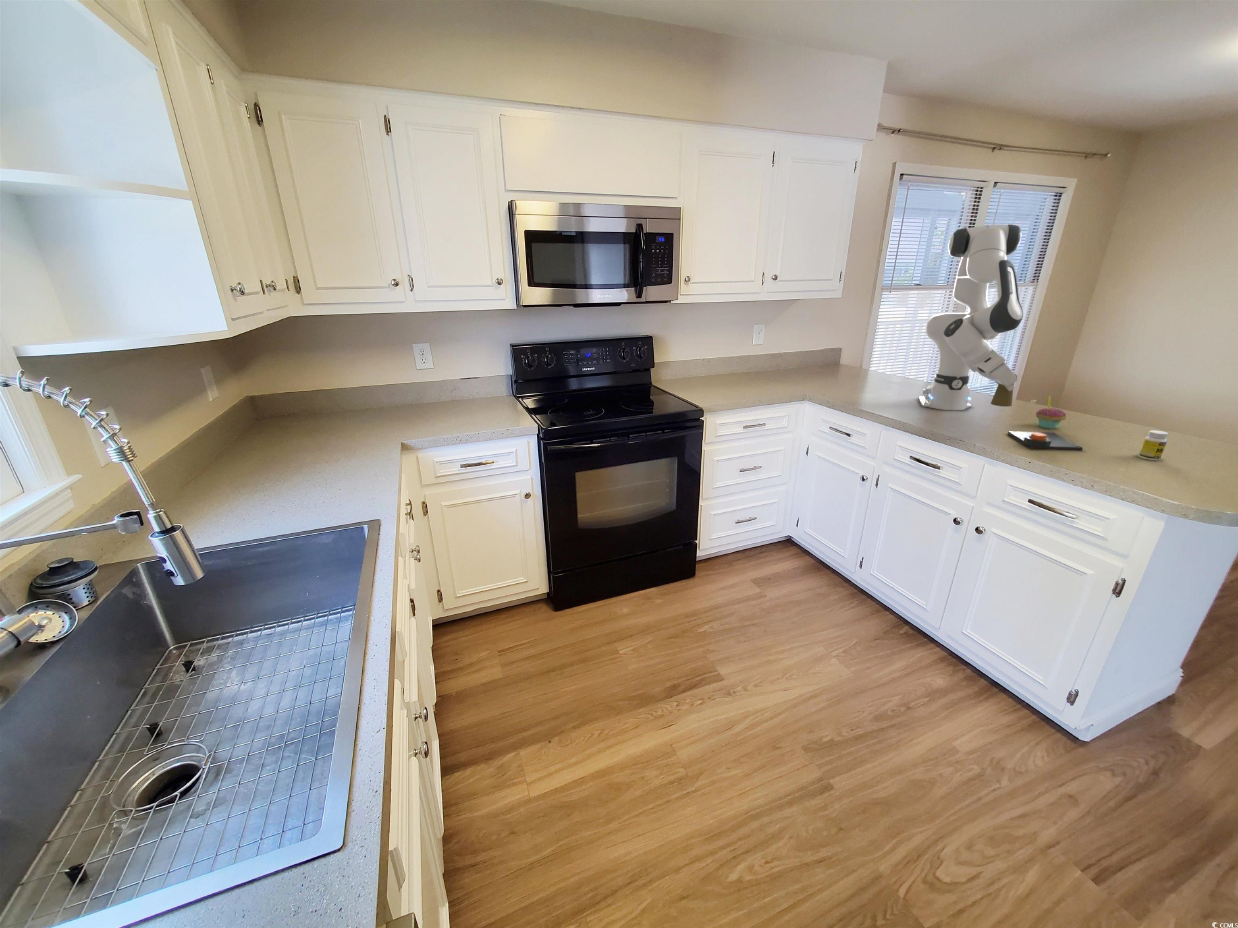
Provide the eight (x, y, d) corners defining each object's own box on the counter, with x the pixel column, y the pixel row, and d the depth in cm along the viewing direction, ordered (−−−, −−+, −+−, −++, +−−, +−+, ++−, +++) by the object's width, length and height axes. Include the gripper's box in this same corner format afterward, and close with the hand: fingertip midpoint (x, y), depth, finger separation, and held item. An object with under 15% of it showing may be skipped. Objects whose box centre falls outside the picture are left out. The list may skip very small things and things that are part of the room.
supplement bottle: (1155, 461, 149) (1165, 435, 146) (1134, 457, 153) (1144, 431, 150) (1163, 459, 151) (1173, 432, 148) (1143, 454, 155) (1152, 428, 152)
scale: (1004, 434, 177) (1006, 426, 176) (1052, 435, 174) (1054, 427, 173) (1029, 449, 162) (1031, 441, 161) (1082, 451, 159) (1085, 442, 158)
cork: (1015, 406, 170) (1023, 374, 166) (995, 406, 171) (1003, 375, 167) (1006, 402, 175) (1014, 371, 171) (987, 402, 176) (994, 371, 172)
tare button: (1027, 437, 166) (1028, 432, 165) (1041, 437, 165) (1042, 432, 165) (1034, 440, 162) (1035, 435, 162) (1048, 441, 162) (1049, 436, 161)
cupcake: (1031, 427, 183) (1040, 396, 179) (1034, 422, 189) (1042, 391, 185) (1061, 431, 178) (1071, 399, 173) (1063, 426, 183) (1072, 394, 179)
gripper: (960, 360, 180) (984, 387, 181) (986, 371, 161) (1013, 401, 163) (977, 348, 177) (1001, 375, 179) (1005, 357, 159) (1032, 387, 160)
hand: (1007, 387), depth 171 cm, fingers closed on cork, 4 cm apart
